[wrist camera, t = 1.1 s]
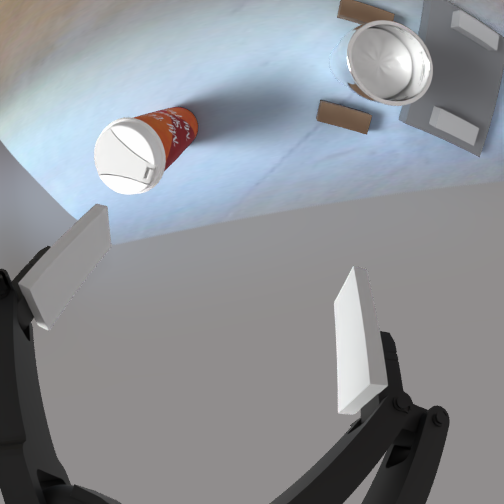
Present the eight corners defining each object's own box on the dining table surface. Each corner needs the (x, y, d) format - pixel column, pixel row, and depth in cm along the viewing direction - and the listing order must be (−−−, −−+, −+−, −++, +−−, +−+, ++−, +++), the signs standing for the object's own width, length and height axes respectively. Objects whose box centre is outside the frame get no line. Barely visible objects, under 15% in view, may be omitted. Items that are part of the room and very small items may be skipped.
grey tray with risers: (424, -3, 19) (439, -10, 15) (497, 40, 19) (516, 40, 15) (398, 119, 30) (410, 126, 26) (470, 151, 29) (487, 162, 26)
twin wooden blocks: (340, 1, 22) (342, -3, 21) (389, 16, 22) (394, 14, 21) (316, 118, 32) (317, 120, 30) (363, 131, 32) (366, 134, 30)
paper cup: (216, 113, 33) (171, 140, 22) (192, 163, 38) (146, 212, 26) (163, 90, 32) (98, 108, 21) (144, 140, 36) (83, 179, 25)
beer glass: (393, 73, 27) (451, 82, 15) (349, 102, 30) (383, 126, 18) (357, 27, 24) (396, 2, 12) (312, 57, 27) (322, 47, 15)
